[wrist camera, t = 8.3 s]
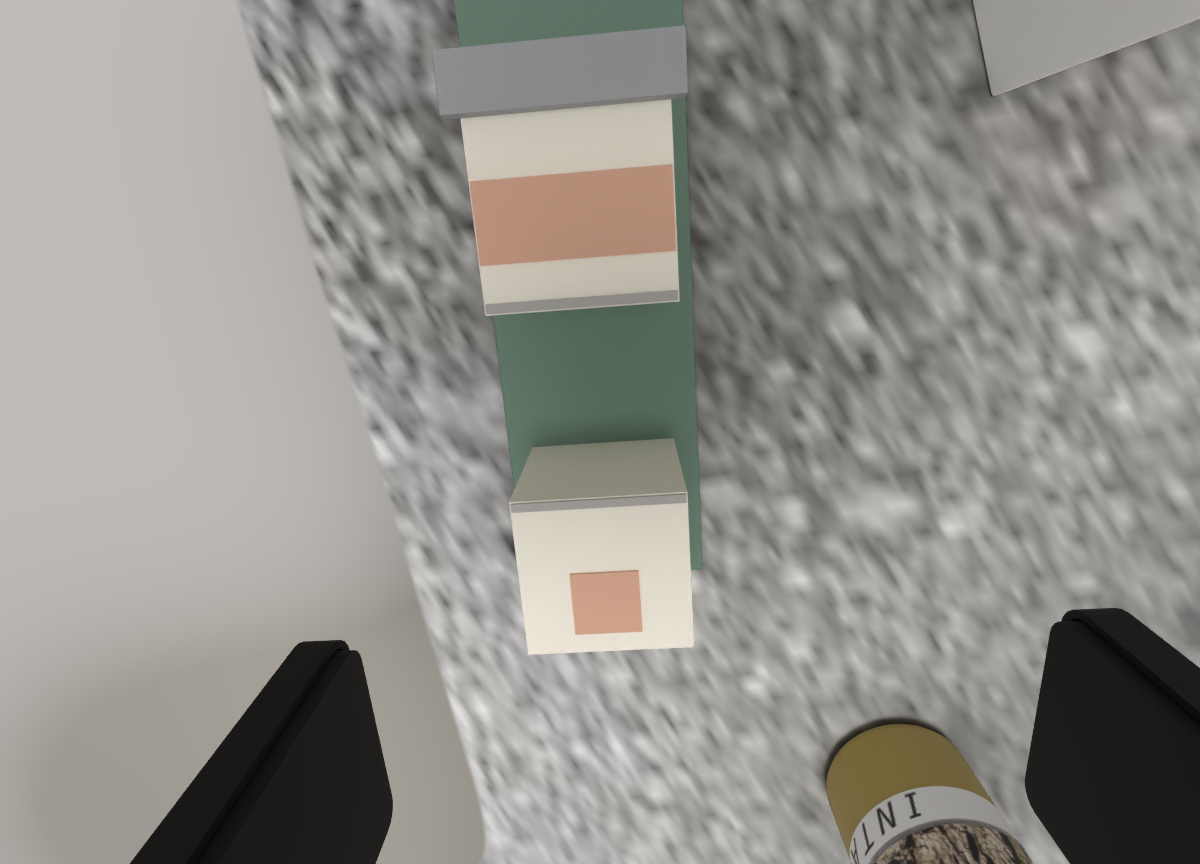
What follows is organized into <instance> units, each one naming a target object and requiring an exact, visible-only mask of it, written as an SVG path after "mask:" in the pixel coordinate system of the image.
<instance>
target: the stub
mask: <svg viewBox="0 0 1200 864" xmlns="http://www.w3.org/2000/svg"><path fill="white" fill-rule="evenodd" d="M509 505H510V513H511V521H512V529H513V537H514V545H515V553H516V561H517V568H518V576H519V584H520V592H521V600H522V608H523V616H524V624H525V632H526V639H527V647H528V655H531V654H553V653H574V652H596V651H617V650H639V649H661V648H682V647H694V638H693V614H692V590H691V565H690V541H689V517H688V493H687V488H686V484H685V480H684V476H683V472H682V469H681V465H680V461H679V457H678V453H677V449H676V445H675V441H674V438H668V439H652V440H636V441H620V442H605V443H589V444H573V445H558V446H542V447H532V450H531V452H530V454H529V457H528V459H527V462H526V464H525V466H524V469H523V471H522V473H521V476H520V478H519V480H518V483H517V485H516V487H515V490H514V492H513V494H512V497H511V499H510V502H509Z"/></svg>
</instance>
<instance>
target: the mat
mask: <svg viewBox="0 0 1200 864" xmlns="http://www.w3.org/2000/svg"><path fill="white" fill-rule="evenodd" d="M454 3H455V11H456V19H457V28H458V36H459V44H460V47H468V46H478V45H488V44H498V43H509V42H519V41H529V40H539V39H550V38H560V37H570V36H580V35H591V34H601V33H611V32H621V31H632V30H642V29H652V28H662V27H673V26H683V13H682V0H454ZM671 105H672V129H673V154H674V178H675V202H676V226H677V251H678V275H679V299H680V301H679V302H665V303H652V304H639V305H625V306H612V307H599V308H585V309H572V310H558V311H545V312H532V313H518V314H505V315H493V319H494V328H495V336H496V344H497V352H498V360H499V368H500V376H501V384H502V392H503V400H504V409H505V417H506V425H507V433H508V441H509V449H510V457H511V465H512V473H513V482H514V490H515V487H516V485H517V483H518V480H519V478H520V476H521V473H522V471H523V469H524V466H525V464H526V462H527V459H528V457H529V454H530V452H531V450H532V447H542V446H558V445H573V444H589V443H605V442H620V441H636V440H652V439H668V438H674V441H675V445H676V449H677V453H678V457H679V461H680V465H681V469H682V472H683V476H684V480H685V484H686V488H687V493H688V517H689V541H690V565H691V570H700V569H702V548H701V520H700V492H699V463H698V435H697V407H696V379H695V351H694V323H693V295H692V267H691V238H690V210H689V182H688V154H687V126H686V98H679V99H671Z"/></svg>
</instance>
